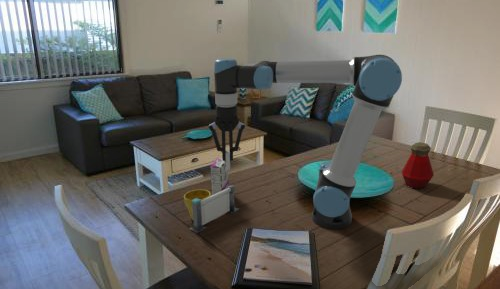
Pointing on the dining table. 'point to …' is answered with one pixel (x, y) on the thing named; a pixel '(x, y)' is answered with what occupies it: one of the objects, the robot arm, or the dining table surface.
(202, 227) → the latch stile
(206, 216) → the white rounded panel
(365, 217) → the dining table surface
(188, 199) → the plant pot
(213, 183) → the candy bar box
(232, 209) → the hinge post
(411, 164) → the bottle
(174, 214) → the dining table surface
